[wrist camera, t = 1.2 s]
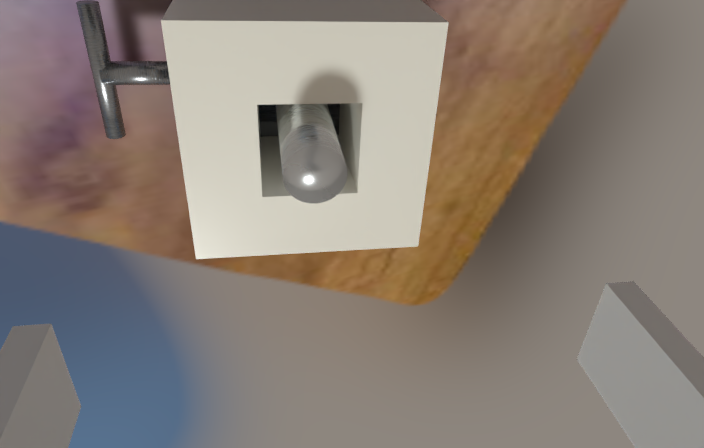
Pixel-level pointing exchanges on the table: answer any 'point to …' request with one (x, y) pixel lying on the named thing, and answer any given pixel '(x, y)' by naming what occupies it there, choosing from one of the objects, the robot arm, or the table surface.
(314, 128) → the vise
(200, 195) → the collar
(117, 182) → the table surface
